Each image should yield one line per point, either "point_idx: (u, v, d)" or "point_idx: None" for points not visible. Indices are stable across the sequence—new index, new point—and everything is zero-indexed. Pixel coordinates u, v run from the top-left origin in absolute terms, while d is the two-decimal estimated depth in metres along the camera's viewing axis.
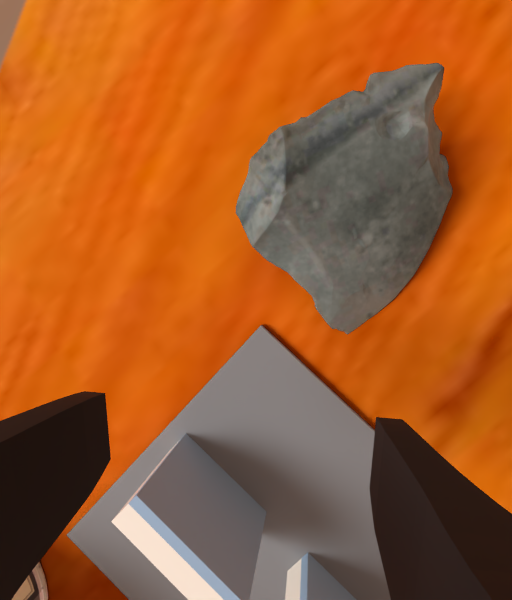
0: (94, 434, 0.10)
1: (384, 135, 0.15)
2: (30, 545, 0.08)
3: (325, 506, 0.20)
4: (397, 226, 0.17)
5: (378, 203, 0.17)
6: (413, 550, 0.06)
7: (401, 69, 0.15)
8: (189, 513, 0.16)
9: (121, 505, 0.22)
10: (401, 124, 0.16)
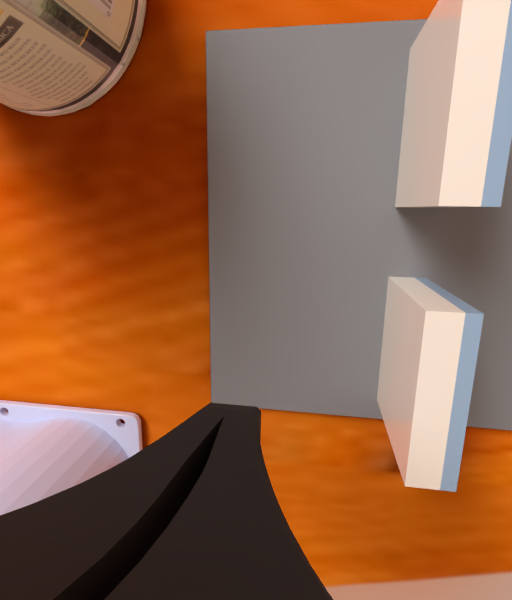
0: None
1: None
2: None
3: (492, 255, 0.16)
4: None
5: None
6: None
7: None
8: None
9: (299, 57, 0.16)
10: None
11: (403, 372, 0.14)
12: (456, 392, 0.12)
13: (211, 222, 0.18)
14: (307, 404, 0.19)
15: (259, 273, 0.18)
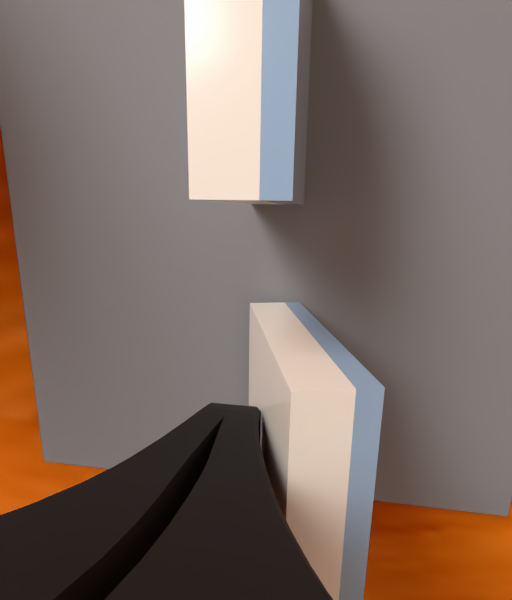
0: None
1: None
2: None
3: (385, 271, 0.12)
4: None
5: None
6: None
7: None
8: None
9: None
10: None
11: (269, 468, 0.09)
12: (349, 516, 0.07)
13: (16, 224, 0.13)
14: None
15: (84, 293, 0.13)
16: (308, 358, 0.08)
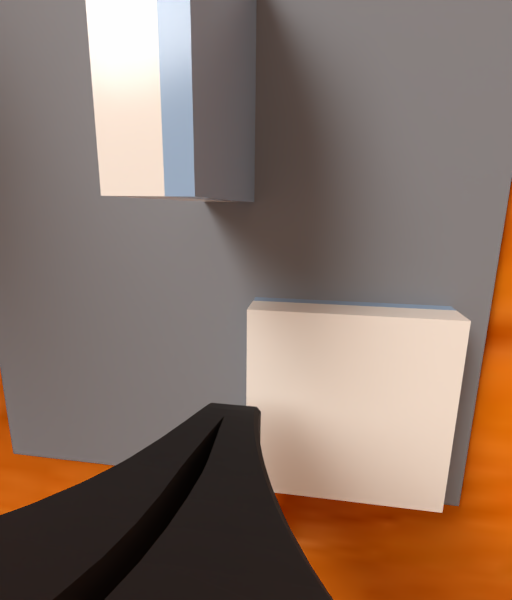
0: None
1: None
2: None
3: (333, 266, 0.12)
4: None
5: None
6: None
7: None
8: None
9: None
10: None
11: (393, 408, 0.11)
12: None
13: None
14: (126, 456, 0.15)
15: (47, 289, 0.14)
16: (411, 311, 0.11)
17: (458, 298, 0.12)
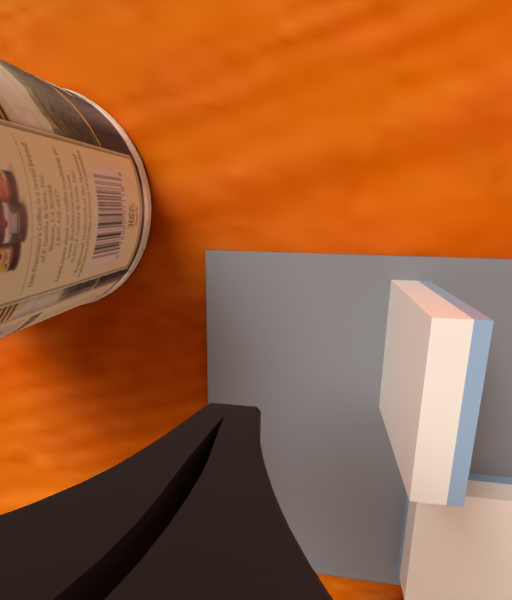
0: None
1: None
2: None
3: None
4: None
5: None
6: None
7: None
8: None
9: (291, 279, 0.17)
10: None
11: None
12: None
13: None
14: None
15: None
16: None
17: None
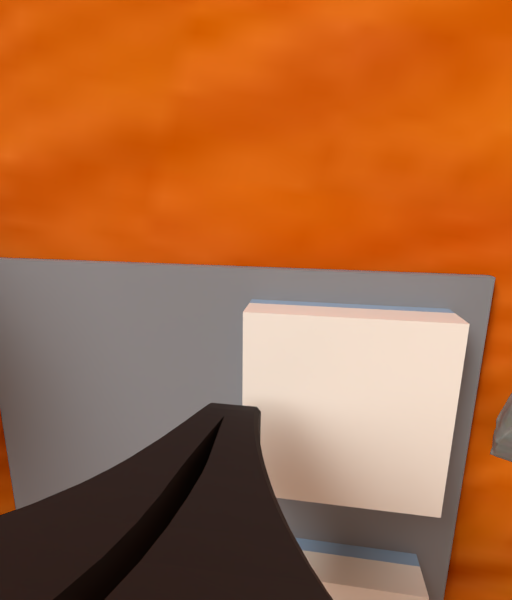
0: None
1: None
2: None
3: (316, 515, 0.14)
4: None
5: None
6: None
7: None
8: None
9: (82, 295, 0.13)
10: None
11: None
12: None
13: (9, 452, 0.15)
14: None
15: None
16: (381, 572, 0.13)
17: (422, 549, 0.14)
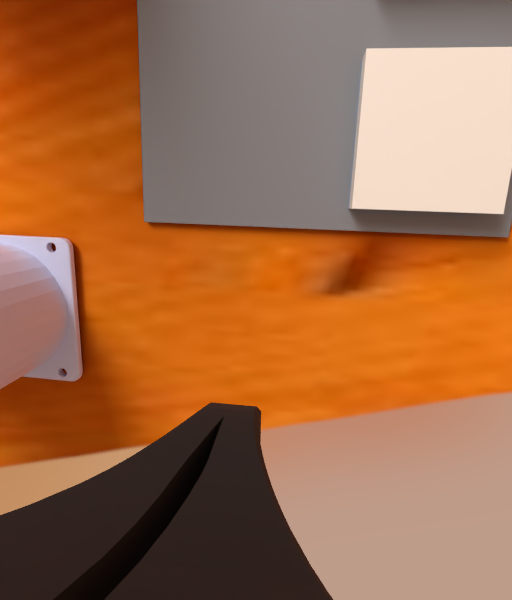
0: None
1: None
2: None
3: (424, 33, 0.16)
4: None
5: None
6: None
7: None
8: None
9: None
10: None
11: (472, 125, 0.15)
12: None
13: (140, 8, 0.17)
14: (241, 216, 0.18)
15: (190, 66, 0.17)
16: None
17: None
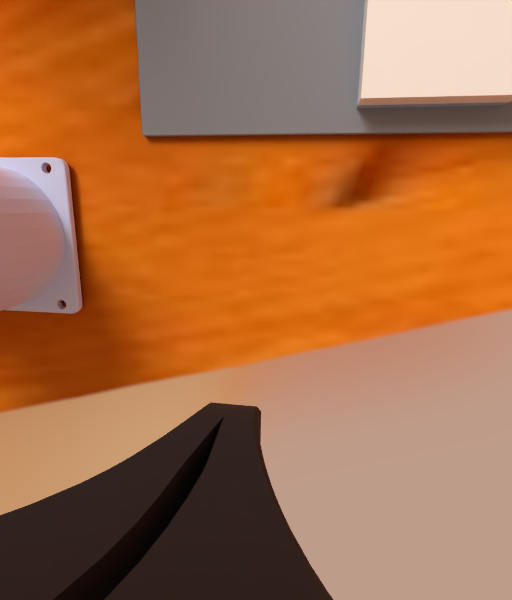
0: None
1: None
2: None
3: None
4: None
5: None
6: None
7: None
8: None
9: None
10: None
11: None
12: None
13: None
14: (243, 123, 0.18)
15: None
16: None
17: None
